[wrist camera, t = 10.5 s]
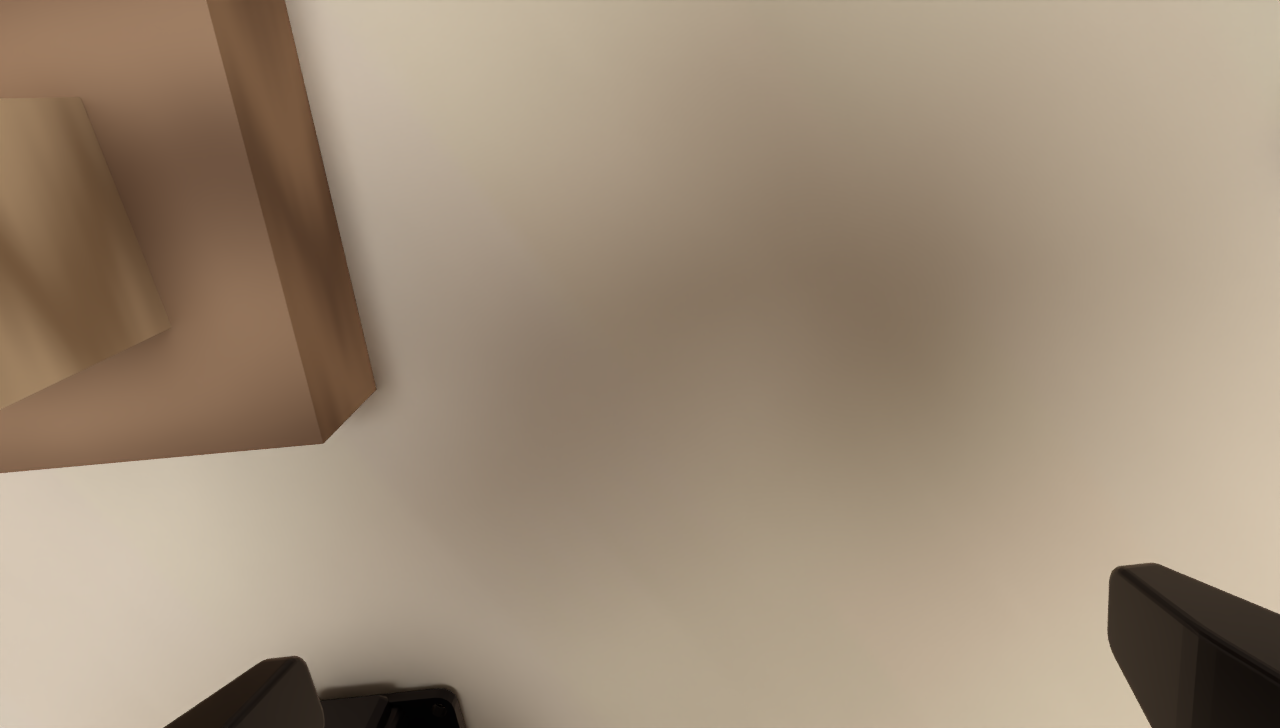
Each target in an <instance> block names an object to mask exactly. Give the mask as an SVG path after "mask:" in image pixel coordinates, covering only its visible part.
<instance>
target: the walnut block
mask: <svg viewBox="0 0 1280 728" xmlns="http://www.w3.org/2000/svg"><path fill="white" fill-rule="evenodd" d="M65 97H80V98H81V100H82V103H83V105H84V108H85V110H86V113H87V115H88V118H89V120H90V123H91V125H92V128H93V130H94V133H95V135H96V138H97V141H98V143H99V146H100V148H101V151H102V153H103V156H104V158H105V161H106V163H107V166H108V168H109V171H110V173H111V176H112V178H113V181H114V183H115V186H116V188H117V191H118V193H119V196H120V198H121V201H122V203H123V206H124V208H125V211H126V213H127V216H128V218H129V221H130V223H131V226H132V228H133V231H134V233H135V236H136V238H137V241H138V243H139V246H140V249H141V251H142V254H143V256H144V259H145V261H146V264H147V266H148V269H149V271H150V274H151V276H152V279H153V281H154V284H155V286H156V289H157V291H158V294H159V296H160V299H161V301H162V304H163V306H164V309H165V311H166V314H167V316H168V319H169V322H170V324H171V328H169V329H167V330H165V331H163V332H161V333H159V334H157V335H155V336H153V337H150V338H148V339H146V340H144V341H142V342H140V343H138V344H136V345H134V346H132V347H130V348H128V349H125V350H123V351H121V352H119V353H117V354H115V355H113V356H111V357H109V358H107V359H105V360H103V361H100V362H98V363H96V364H94V365H92V366H90V367H88V368H86V369H84V370H82V371H80V372H78V373H75V374H73V375H71V376H69V377H67V378H65V379H63V380H61V381H59V382H57V383H55V384H53V385H50V386H48V387H46V388H44V389H42V390H40V391H38V392H36V393H34V394H32V395H30V396H28V397H26V398H23V399H21V400H19V401H17V402H15V403H13V404H11V405H9V406H7V407H5V408H3V409H1V410H0V473H7V472H18V471H29V470H40V469H50V468H61V467H72V466H83V465H94V464H105V463H116V462H127V461H138V460H149V459H160V458H171V457H182V456H193V455H204V454H214V453H225V452H236V451H247V450H258V449H269V448H280V447H291V446H302V445H313V444H323V443H324V442H325V441H326V440H327V439H328V438H329V437H330V436H331V435H332V434H333V433H334V432H335V431H336V430H337V429H338V428H339V427H340V426H341V425H342V424H343V423H344V422H345V421H346V420H347V419H348V418H349V417H350V416H351V415H352V414H353V413H354V412H355V411H356V410H357V409H358V408H359V407H360V406H361V405H362V404H363V403H364V402H365V401H366V400H367V399H368V397H369V396H370V395H371V394H372V393H373V392H374V391H375V390H376V385H375V381H374V377H373V372H372V368H371V364H370V360H369V355H368V351H367V347H366V343H365V339H364V334H363V330H362V326H361V322H360V317H359V313H358V309H357V305H356V300H355V296H354V292H353V288H352V284H351V279H350V275H349V271H348V267H347V262H346V258H345V254H344V250H343V245H342V241H341V237H340V233H339V228H338V224H337V220H336V216H335V212H334V207H333V203H332V199H331V195H330V190H329V186H328V182H327V178H326V173H325V169H324V165H323V161H322V157H321V152H320V148H319V144H318V140H317V135H316V131H315V127H314V123H313V118H312V114H311V110H310V106H309V101H308V97H307V93H306V89H305V85H304V80H303V76H302V72H301V68H300V63H299V59H298V55H297V51H296V46H295V42H294V38H293V34H292V30H291V25H290V21H289V17H288V13H287V8H286V4H285V0H0V99H9V98H65Z"/></svg>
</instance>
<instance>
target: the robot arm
mask: <svg viewBox="0 0 1280 728" xmlns="http://www.w3.org/2000/svg"><path fill="white" fill-rule="evenodd" d="M1107 630H1108V640H1109V644H1110V647H1111V650H1112V653H1113V655H1114V657H1115V659H1116V661H1117V663H1118V665H1119V667H1120V668H1121V670H1122V672H1123V674H1124V676H1125V678H1126V680H1127V682H1128V684H1129V686H1130V687H1131V689H1132V691H1133V693H1134V695H1135V697H1136V699H1137V701H1138V703H1139V704H1140V706H1141V708H1142V710H1143V712H1144V714H1145V716H1146V718H1147V720H1148V722H1149V723H1150V725H1151V727H1152V728H1280V614H1278V613H1275V612H1273V611H1270V610H1268V609H1266V608H1263V607H1261V606H1258V605H1256V604H1254V603H1251V602H1249V601H1246V600H1244V599H1242V598H1239V597H1237V596H1234V595H1232V594H1230V593H1227V592H1225V591H1222V590H1220V589H1217V588H1215V587H1213V586H1210V585H1208V584H1205V583H1203V582H1201V581H1198V580H1196V579H1193V578H1191V577H1189V576H1186V575H1184V574H1181V573H1179V572H1176V571H1174V570H1172V569H1169V568H1167V567H1164V566H1162V565H1159V564H1156V563H1144V564H1135V565H1126V566H1118V567H1116V568H1115V569H1114V570H1113V571H1112V573H1111V575H1110V580H1109V600H1108V627H1107ZM436 704H442V705H443V706H445V708H442V707H439V706H437V705H436ZM164 728H466V727H465V724H464V720H463V717H462V713H461V710H460V706H459V703H458V699H457V698H456V696H455V694H453V693H452V692H451V691H449V690H446V689H439V688H438V689H428V690H419V691H409V692H399V693H390V694H380V695H370V696H361V697H351V698H341V699H332V700H322V701H320V700H319V697H318V695H317V692H316V689H315V686H314V683H313V680H312V678H311V675H310V672H309V669H308V667H307V664H306V662H305V661H304V660H303V659H302V658H300V657H298V656H289V657H280V658H271V659H266V660H263V661H261V662H260V663H258V664H257V665H255V666H254V667H252V668H251V669H249V670H248V671H246V672H245V673H243V674H242V675H240V676H239V677H237V678H236V679H234V680H233V681H232V682H230V683H229V684H227V685H226V686H224V687H223V688H221V689H220V690H218V691H217V692H215V693H214V694H212V695H211V696H209V697H208V698H206V699H205V700H204V701H202V702H201V703H199V704H198V705H196V706H195V707H193V708H192V709H190V710H189V711H187V712H186V713H184V714H183V715H181V716H180V717H178V718H177V719H175V720H174V721H173V722H171V723H170V724H168V725H167V726H165V727H164Z"/></svg>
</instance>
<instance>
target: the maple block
mask: <svg viewBox="0 0 1280 728" xmlns="http://www.w3.org/2000/svg"><path fill="white" fill-rule="evenodd" d="M169 328H171V324H170V322H169V319H168V316H167V314H166V311H165V309H164V306H163V304H162V301H161V299H160V296H159V294H158V291H157V289H156V286H155V284H154V281H153V279H152V276H151V274H150V271H149V269H148V266H147V264H146V261H145V259H144V256H143V254H142V251H141V249H140V246H139V243H138V241H137V238H136V236H135V233H134V231H133V228H132V226H131V223H130V221H129V218H128V216H127V213H126V211H125V208H124V206H123V203H122V201H121V198H120V196H119V193H118V191H117V188H116V186H115V183H114V181H113V178H112V176H111V173H110V171H109V168H108V166H107V163H106V161H105V158H104V156H103V153H102V151H101V148H100V146H99V143H98V141H97V138H96V135H95V133H94V130H93V128H92V125H91V123H90V120H89V118H88V115H87V113H86V110H85V108H84V105H83V103H82V100H81V98H80V97H65V98H9V99H0V410H1V409H3V408H5V407H7V406H9V405H11V404H13V403H15V402H17V401H19V400H21V399H23V398H26V397H28V396H30V395H32V394H34V393H36V392H38V391H40V390H42V389H44V388H46V387H48V386H50V385H53V384H55V383H57V382H59V381H61V380H63V379H65V378H67V377H69V376H71V375H73V374H75V373H78V372H80V371H82V370H84V369H86V368H88V367H90V366H92V365H94V364H96V363H98V362H100V361H103V360H105V359H107V358H109V357H111V356H113V355H115V354H117V353H119V352H121V351H123V350H125V349H128V348H130V347H132V346H134V345H136V344H138V343H140V342H142V341H144V340H146V339H148V338H150V337H153V336H155V335H157V334H159V333H161V332H163V331H165V330H167V329H169Z"/></svg>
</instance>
